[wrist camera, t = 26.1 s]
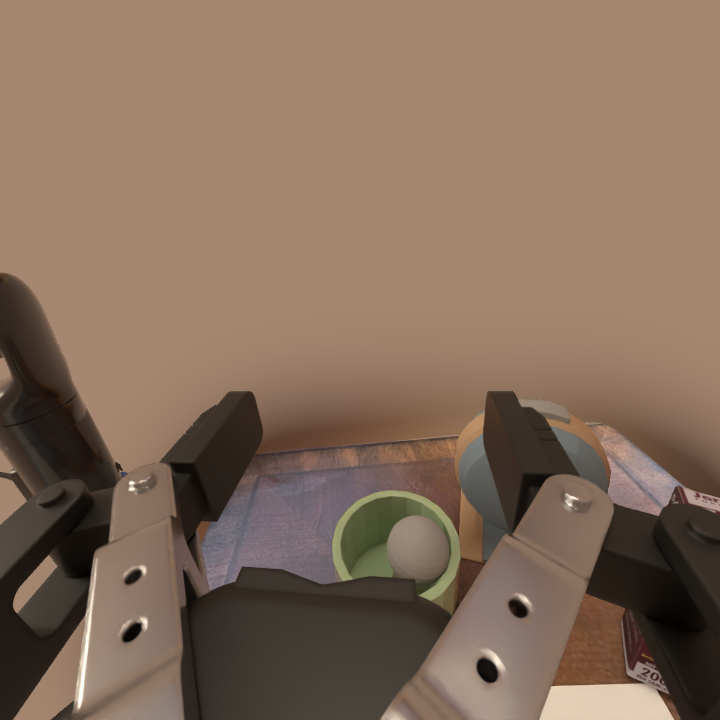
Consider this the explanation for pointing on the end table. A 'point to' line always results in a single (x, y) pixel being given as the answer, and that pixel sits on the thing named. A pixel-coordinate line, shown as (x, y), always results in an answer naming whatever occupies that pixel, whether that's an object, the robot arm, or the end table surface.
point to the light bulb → (418, 550)
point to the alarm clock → (478, 489)
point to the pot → (370, 535)
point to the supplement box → (633, 642)
